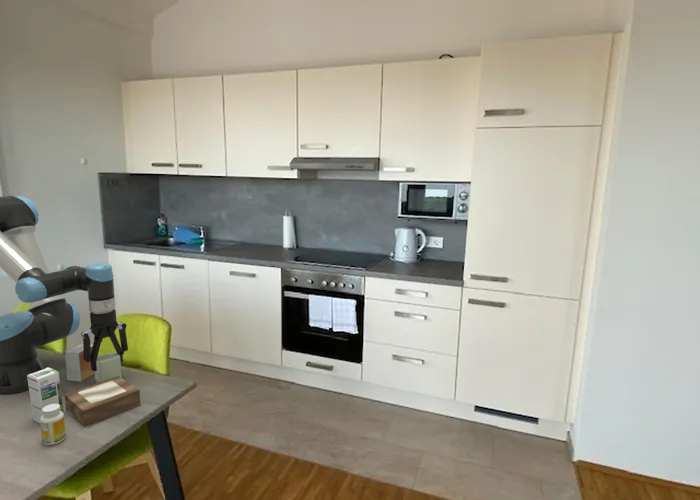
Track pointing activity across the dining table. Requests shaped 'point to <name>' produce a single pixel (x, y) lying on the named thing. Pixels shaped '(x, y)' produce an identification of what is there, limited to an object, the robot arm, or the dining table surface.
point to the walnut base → (102, 400)
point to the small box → (77, 364)
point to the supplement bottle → (52, 425)
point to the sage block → (109, 366)
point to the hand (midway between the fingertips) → (108, 375)
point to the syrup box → (44, 391)
